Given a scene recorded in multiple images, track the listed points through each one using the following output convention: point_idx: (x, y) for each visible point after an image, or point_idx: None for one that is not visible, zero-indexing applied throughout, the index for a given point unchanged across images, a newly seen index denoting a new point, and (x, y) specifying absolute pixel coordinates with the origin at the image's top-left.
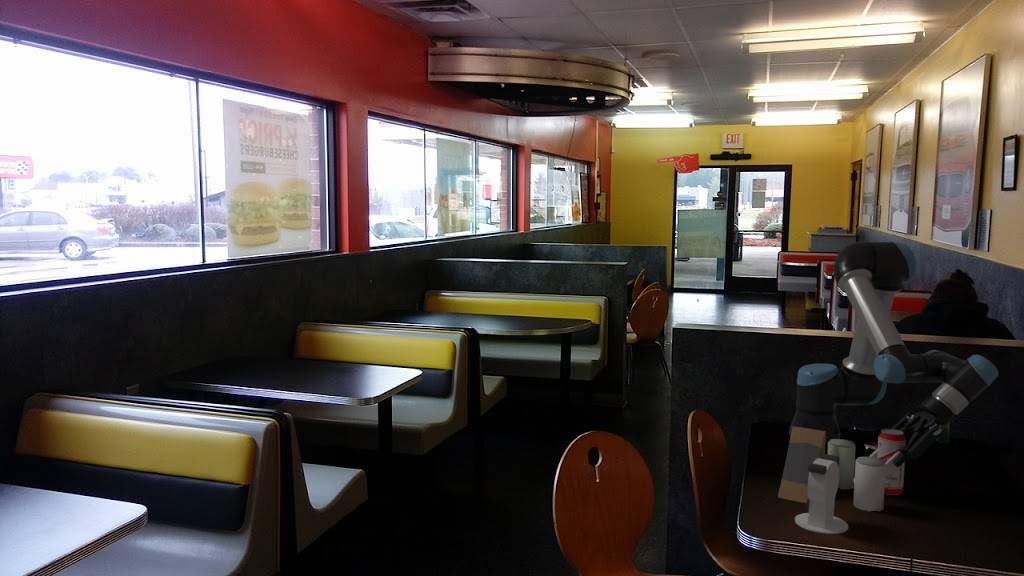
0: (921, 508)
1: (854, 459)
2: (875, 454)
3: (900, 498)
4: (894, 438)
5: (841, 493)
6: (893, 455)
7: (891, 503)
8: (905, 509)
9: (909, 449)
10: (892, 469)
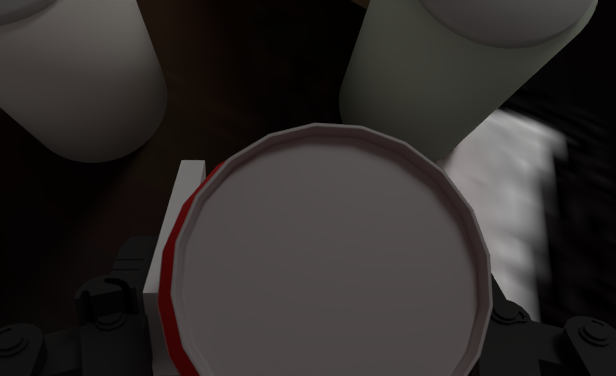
0: None
1: (407, 85)
2: None
3: None
4: (177, 231)
5: (281, 57)
6: None
7: (127, 237)
8: (34, 267)
9: (30, 363)
10: None
